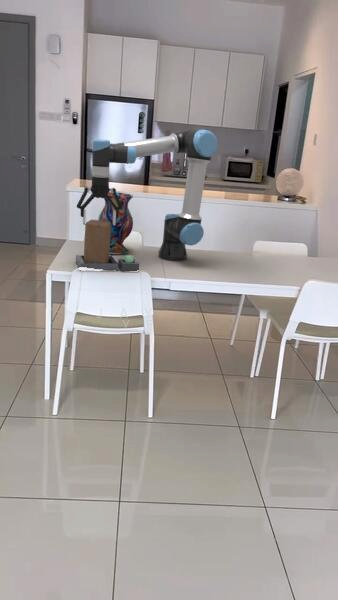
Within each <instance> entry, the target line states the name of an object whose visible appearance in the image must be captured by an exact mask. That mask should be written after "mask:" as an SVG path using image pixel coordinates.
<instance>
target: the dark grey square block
mask: <svg viewBox="0 0 338 600" xmlns="http://www.w3.org/2000/svg"><path fill="white" fill-rule="evenodd" d="M117 261H118V262H117V263H118V270H119V271H120V272H121V271H137V270H139V271H140V263H139V262H138V261H137V260H136V258H135V259H134V258H133V263H125V262H124V261H125V258H119V259H117Z"/></svg>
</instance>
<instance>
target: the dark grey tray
mask: <svg viewBox="0 0 338 600" xmlns="http://www.w3.org/2000/svg"><path fill="white" fill-rule="evenodd" d="M75 264H76V266H77V268H79V267H87V268H94V269H103V270H116V271H115V272H118V271H119V268H118V262H117V260H116V259H115V258H114V256H113V255H109V263H85V262H84V254H83V255H80V254H76V255H75Z"/></svg>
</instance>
